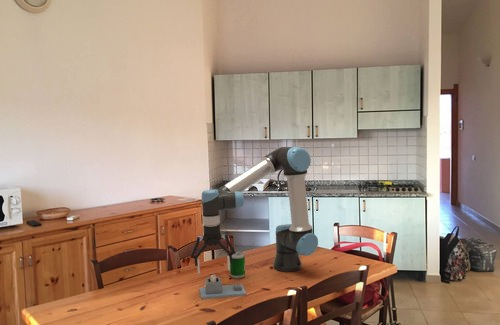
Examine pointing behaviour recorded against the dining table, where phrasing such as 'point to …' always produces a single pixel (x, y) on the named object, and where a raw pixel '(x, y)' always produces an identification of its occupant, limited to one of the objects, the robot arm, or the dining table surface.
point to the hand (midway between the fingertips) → (214, 271)
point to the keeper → (224, 290)
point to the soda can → (237, 265)
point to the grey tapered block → (213, 286)
